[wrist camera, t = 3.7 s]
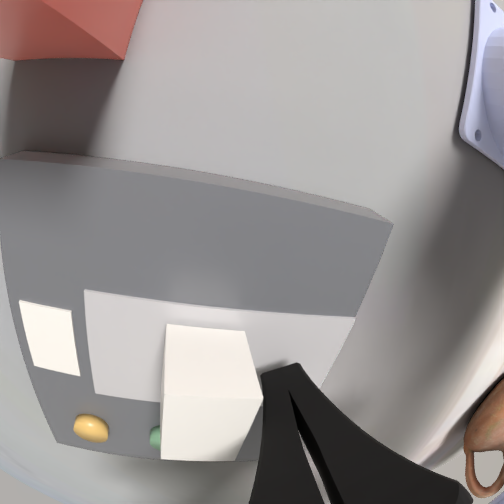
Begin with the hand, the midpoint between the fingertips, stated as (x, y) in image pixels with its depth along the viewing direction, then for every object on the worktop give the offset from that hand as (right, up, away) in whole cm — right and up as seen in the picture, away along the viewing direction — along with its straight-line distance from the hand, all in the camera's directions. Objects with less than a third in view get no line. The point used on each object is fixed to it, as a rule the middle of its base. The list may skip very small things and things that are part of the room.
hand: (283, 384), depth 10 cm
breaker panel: (-4, +1, +1) cm, 5 cm away
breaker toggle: (-3, +1, 0) cm, 3 cm away
